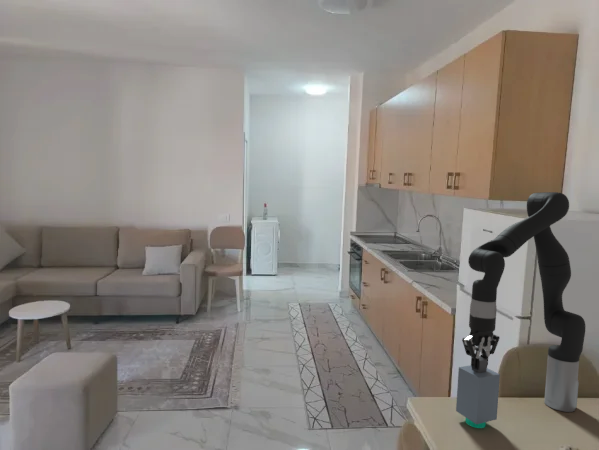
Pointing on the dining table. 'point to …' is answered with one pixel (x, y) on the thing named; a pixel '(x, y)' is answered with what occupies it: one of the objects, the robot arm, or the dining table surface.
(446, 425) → the dining table surface
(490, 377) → the cover
